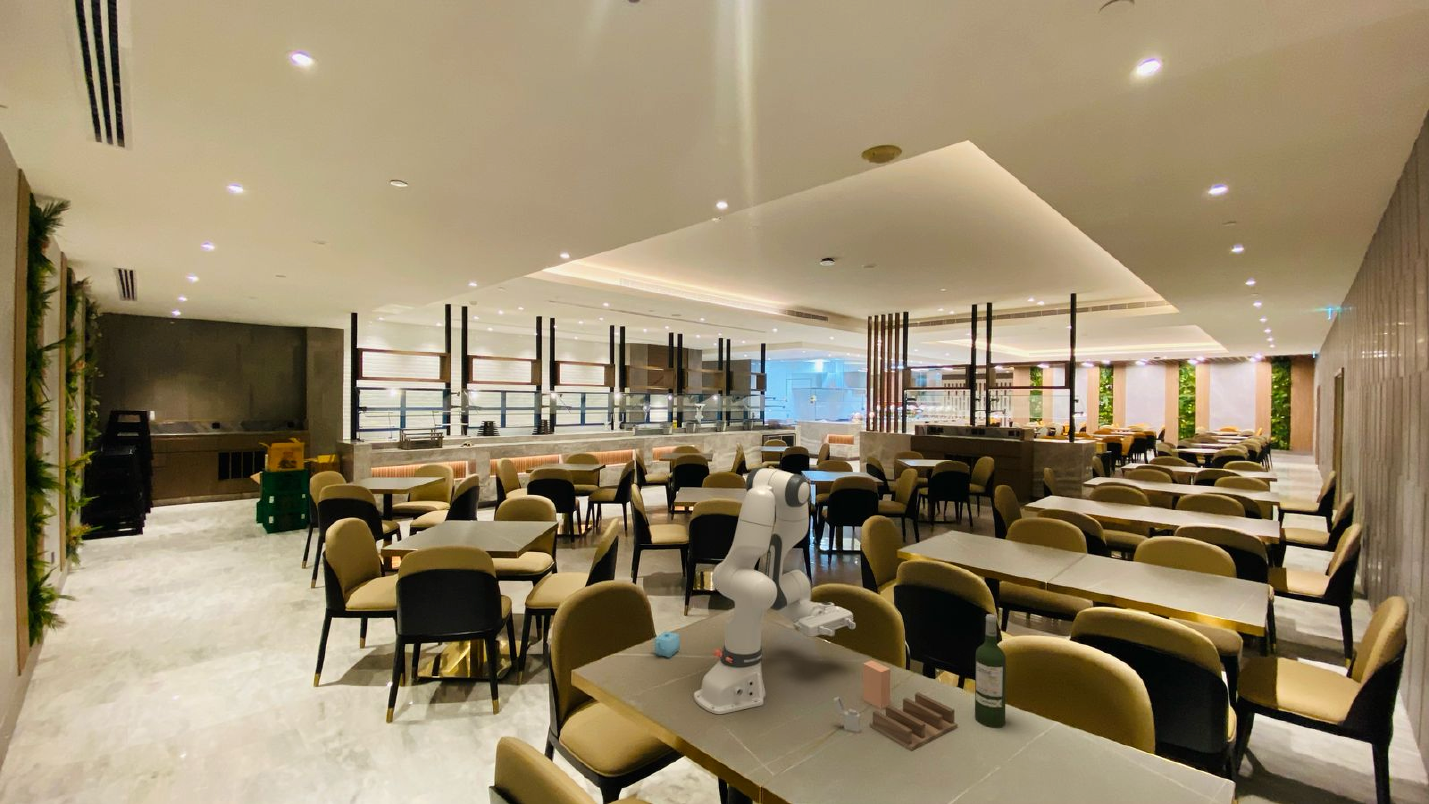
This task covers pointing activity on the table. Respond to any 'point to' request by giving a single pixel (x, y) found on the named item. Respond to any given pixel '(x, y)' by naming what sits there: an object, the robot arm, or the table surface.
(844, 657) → the table surface
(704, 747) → the table surface
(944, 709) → the rack
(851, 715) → the lighter
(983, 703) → the wine bottle
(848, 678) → the table surface
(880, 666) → the salmon rectangular prism
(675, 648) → the light blue toy brick
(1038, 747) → the table surface
